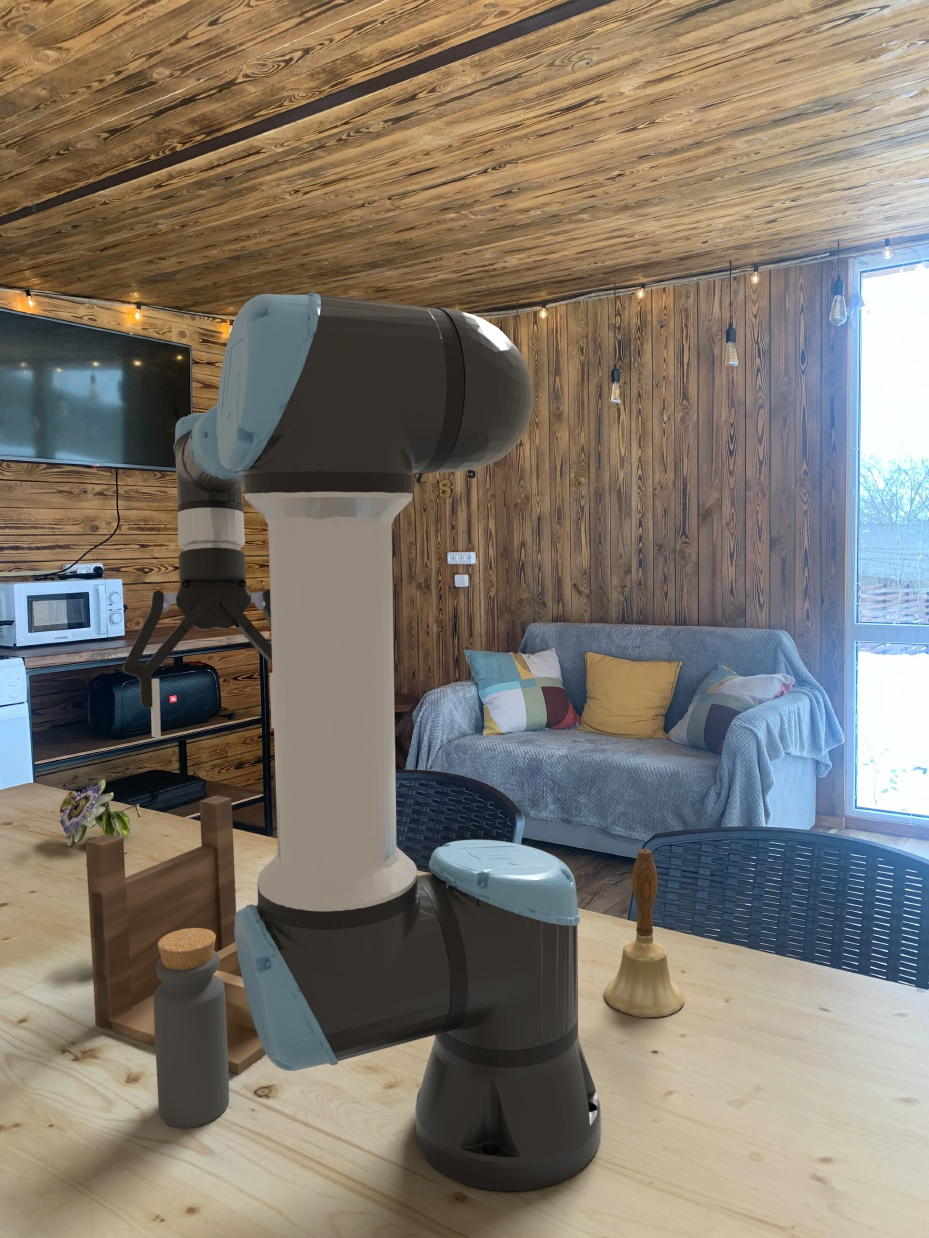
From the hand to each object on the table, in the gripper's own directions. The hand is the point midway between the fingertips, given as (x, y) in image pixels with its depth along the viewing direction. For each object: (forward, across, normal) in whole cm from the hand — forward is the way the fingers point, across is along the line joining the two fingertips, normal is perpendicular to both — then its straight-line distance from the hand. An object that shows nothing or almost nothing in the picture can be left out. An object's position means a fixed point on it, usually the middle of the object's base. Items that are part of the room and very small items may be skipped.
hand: (218, 732), depth 106 cm
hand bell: (+30, -39, +26) cm, 55 cm away
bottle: (+31, +6, +25) cm, 40 cm away
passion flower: (+20, +12, -55) cm, 60 cm away
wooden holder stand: (+28, +1, +9) cm, 30 cm away
